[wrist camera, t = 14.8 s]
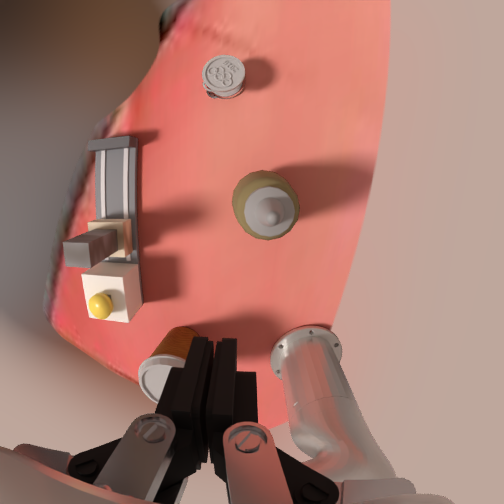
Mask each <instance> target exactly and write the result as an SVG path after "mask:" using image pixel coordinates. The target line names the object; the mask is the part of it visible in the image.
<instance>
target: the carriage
mask: <svg viewBox="0 0 504 504" xmlns="http://www.w3.org/2000/svg"><path fill="white" fill-rule="evenodd" d="M63 248H64V256H65V264H66V266H69V267H83V268H92V267H93V266H95V265H97V264H98V263H100V262H101V261H103V260H104V259H106V258H107V257H126V256H128V255H129V254H131V253H132V252H133V247H132V229H131V219H96V220H93V221H90V222H88V232H86V233H83V234H81V235H79V236H76V237H74V238H72V239H69V240H67V241H65V242H63Z"/></svg>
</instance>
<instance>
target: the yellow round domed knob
mask: <svg viewBox="0 0 504 504" xmlns="http://www.w3.org/2000/svg"><path fill="white" fill-rule="evenodd" d="M88 305H89V309H90V311H91V313H92V314H93V315H94V316H95V317H97V318H98V319H106V318H108V317H109V315H110V314H111V313H112V312H113V302H112V300H111V295H106V294H104V293H96V294H95V295H93V296H92V297H91V298H90V300H89V303H88Z"/></svg>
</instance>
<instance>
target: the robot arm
mask: <svg viewBox="0 0 504 504" xmlns="http://www.w3.org/2000/svg"><path fill="white" fill-rule="evenodd" d="M341 356H342V347H341V344H340V341H339V340H338V338H337V336H336V335H335V334H334V333H333V332H331V331H330V330H329V329H326V328H324V327H320V326H303V327H299V328H296V329H293V330H291V331H289V332H287V333H286V334H284V335H283V336H282V337H281V338H280V339H279V340H278V341H277V342H276V343H275V345H274V347H273V349H272V351H271V355H270V363H271V368H272V370H273V372H274V374H275V375H276V376H277V377H278V378H279V379H280V380H282V381H283V388H284V394H285V401H286V407H287V414H288V420H289V427H290V433H291V436H292V439H293V441H294V443H295V444H296V446H297V447H298V448H299V449H300V450H301V451H302V452H304V453H305V454H307V455H308V456H310V457H312V458H313V459H311V460H308V461H306V462H302V463H301V462H299V461H298V460H296V459H294V458H293V457H291V456H289V455H288V454H286V453H285V452H283V451H282V450H280V449H278V448H277V447H275V443H274V440H273V437H272V435H271V433H270V431H269V430H268V429H267V428H266V427H265V426H263V425H261V424H258V409H257V383H256V372H242V371H237V339H233V338H223V340H222V342H219V341H217V345H216V351H215V356H214V347H213V341H208V337H197V336H194V337H193V339H192V342H191V345H190V349H189V352H188V355H187V358H186V361H185V364H184V368H181V367H171V369H170V372H169V374H168V377H167V380H166V383H165V385H164V388H163V391H162V394H161V396H160V399H159V402H158V405H157V408H156V411H155V413H151V414H145V415H141V416H139V417H138V418H136V419H135V420H134V421H133V422H132V423H131V425H130V426H129V428H128V430H127V431H126V433H125V434H124V436H123V437H122V438H120V439H117V440H114V441H112V442H109V443H107V444H104V445H101V446H99V447H96V448H93V449H90V450H88V451H84V452H81V453H79V454H77V455H75V456H72V455H71V454H70V453H68V452H62V451H57V450H52V449H47V448H43V447H38V446H34V445H31V444H20V445H18V446H16V447H15V448H14V450H10V449H8V448H4V447H1V446H0V504H179V503H180V501H181V498H182V495H183V493H184V490H185V487H186V485H187V482H188V476H190V475H192V474H193V473H195V472H196V469H197V470H200V469H201V462H202V463H207V458H208V450H209V452H210V458H211V463H213V464H214V469H215V474H216V475H217V476H218V477H219V478H221V479H222V480H223V481H224V482H225V483H226V489H227V496H228V503H229V504H454V503H453V502H452V501H451V500H449V499H448V498H446V497H444V496H439V495H433V494H416V490H415V487H414V485H413V484H412V483H411V482H410V481H409V480H406V479H405V478H397V477H396V474H395V472H394V469H393V468H392V466H391V464H390V462H389V460H388V459H387V457H386V456H385V455H384V453H383V452H382V450H381V449H380V447H379V446H378V444H377V443H376V441H375V439H374V438H373V436H372V434H371V432H370V431H369V428H368V426H367V424H366V423H365V420H364V418H363V416H362V413H361V411H360V409H359V406H358V404H357V402H356V400H355V397H354V395H353V393H352V390H351V388H350V386H349V383H348V381H347V379H346V377H345V375H344V372H343V370H342V368H341V366H340V360H341Z"/></svg>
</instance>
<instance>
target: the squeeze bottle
mask: <svg viewBox="0 0 504 504" xmlns="http://www.w3.org/2000/svg"><path fill="white" fill-rule="evenodd" d="M232 206H233V210H234V214H235V216H236V218H237V220H238V222H239V224H240V225H241V226H242V228H243V229H244V230H245V232H247V233H248V234H250V235H252V236H253V237H255V238H257V239H263V240H272V239H276V238H281V237H282V236H284V235H285V234H286V233H288V232H289V231H291V229H292V228H293V226H294V225H295V223H296V222H297V220H298V215H299V209H300V207H299V202H298V197H297V195H296V193H295V192H294V190H293V189H292V188H291V186H290V185H289V183H288V182H287V181H286V179H284V178H283V177H281V176H280V175H278V174H277V173H275V172H270V171H264V170H261V171H257V172H252V173H249V174H248V175H247V176H245V177H244V178H242V179H241V180H240V181H239V183H238V184H237V186H236V188H235V189H234V192H233V198H232Z"/></svg>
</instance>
